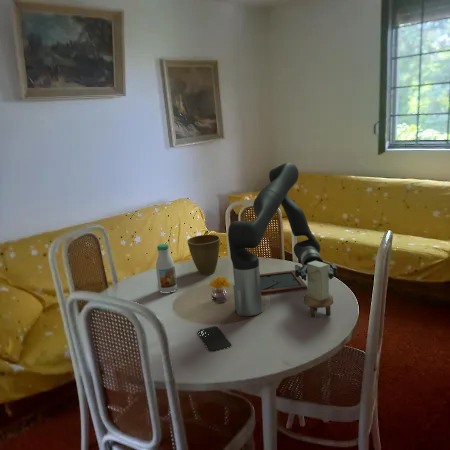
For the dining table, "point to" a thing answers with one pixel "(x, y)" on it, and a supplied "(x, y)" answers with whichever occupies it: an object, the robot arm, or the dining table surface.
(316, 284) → the skincare box
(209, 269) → the plant pot
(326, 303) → the stool
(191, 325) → the dining table surface
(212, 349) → the phone
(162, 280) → the milk bottle
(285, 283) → the picture frame
